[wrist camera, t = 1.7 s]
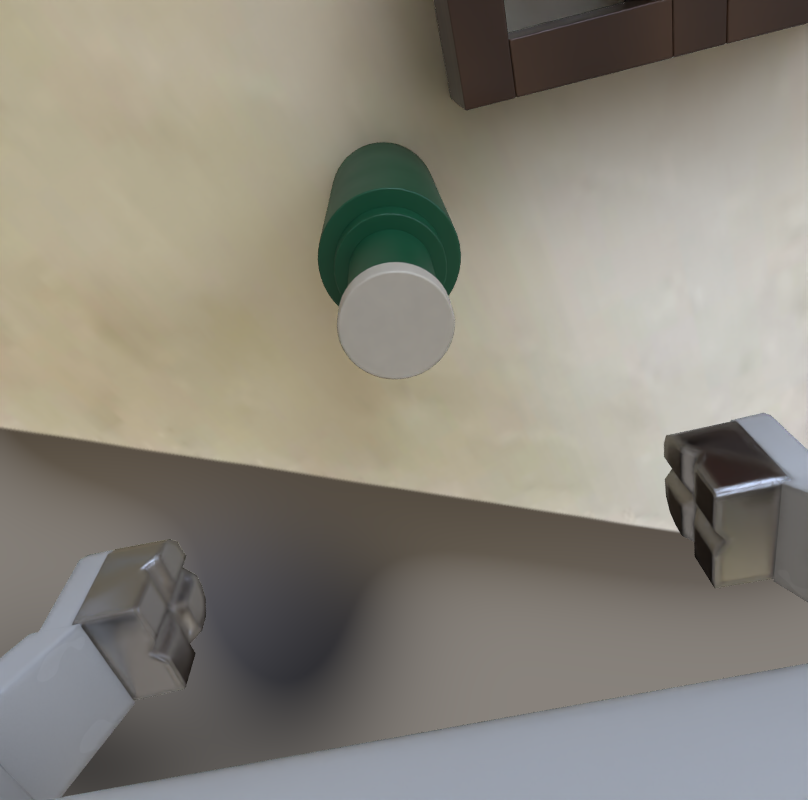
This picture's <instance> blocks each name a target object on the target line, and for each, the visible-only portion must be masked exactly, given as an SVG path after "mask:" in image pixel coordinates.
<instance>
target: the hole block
mask: <svg viewBox="0 0 808 800" xmlns="http://www.w3.org/2000/svg"><path fill="white" fill-rule="evenodd" d="M434 6H435V12H436V17H437V23H438V29H439V34H440V40H441V46H442V51H443V57H444V63H445V69H446V74H447V80H448V86H449V91H450V97H451V99H452V100H454V101H455V102H456V103H457V104H459V105H460V106H461V107H462V108H464V109H465V110H470V109H474V108H478V107H482V106H486V105H490V104H493V103H497V102H501V101H505V100H509V99H513V98H515V97H521V96H525V95H529V94H533V93H536V92H540V91H544V90H548V89H552V88H556V87H560V86H564V85H568V84H572V83H576V82H580V81H583V80H587V79H591V78H595V77H599V76H603V75H607V74H611V73H615V72H619V71H623V70H626V69H630V68H634V67H638V66H642V65H646V64H650V63H654V62H658V61H662V60H666V59H669V58H672V57H677V56H681V55H685V54H689V53H693V52H697V51H701V50H705V49H708V48H712V47H716V46H720V45H724V44H725V43H727V44H728V43H732V42H736V41H740V40H744V39H748V38H752V37H755V36H759V35H763V34H767V33H771V32H775V31H779V30H783V29H787V28H791V27H795V26H799V25H802V24H806V23H808V0H625V2H623V3H619V4H616V5H612V6H608V7H604V8H600V9H597V10H593V11H589V12H585V13H581V14H578V15H574V16H570V17H566V18H562V19H559V20H555V21H551V22H547V23H543V24H540V25H536V26H532V27H528V28H524V29H521V30H517V31H513V32H509V33H508V31H507V23H506V15H505V7H504V0H434Z"/></svg>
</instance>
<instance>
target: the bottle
mask: <svg viewBox="0 0 808 800" xmlns="http://www.w3.org/2000/svg"><path fill="white" fill-rule="evenodd" d="M460 263H461V251H460V243H459V240H458V236H457V233H456V231H455V228H454V226H453V224H452V221H451V219H450V217H449V215H448V212H447V210H446V208H445V206H444V203H443V201H442V199H441V197H440V194H439V192H438V190H437V187H436V185H435V183H434V181H433V178H432V176H431V174H430V172H429V170H428V168H427V166H426V165H425V164H424V162H423V161H422V160H421V159H420V158H419V157H418V156H417V155H416V154H415V153H413V152H412V151H411V150H409V149H407V148H405V147H403V146H400V145H397V144H393V143H385V142H383V143H373V144H369V145H366V146H363V147H361V148H359V149H357V150H356V151H354V152H353V153H352V154H350V155H349V156H348V157H347V158H346V159H345V160H344V162H343V163H342V164H341V166H340V167H339V169H338V171H337V173H336V175H335V178H334V181H333V185H332V190H331V194H330V198H329V203H328V207H327V212H326V216H325V221H324V225H323V229H322V234H321V238H320V243H319V249H318V265H319V271H320V276H321V279H322V282H323V284H324V287H325V288H326V290H327V292H328V294H329V295H330V297H331V298H332V299H333V301H334V302H335V303H336V304H337V305H338V306H339V309H338V319H337V331H338V337H339V341H340V343H341V346H342V348H343V350H344V352H345V353H346V355H347V356H348V357H349V359H350V360H351V361H352V362H353V363H354V364H355V365H357V366H358V367H359V368H361V369H362V370H364V371H365V372H367V373H369V374H372V375H374V376H377V377H381V378H386V379H404V378H409V377H413V376H416V375H419V374H421V373H423V372H425V371H427V370H429V369H430V368H431V367H433V366H434V365H435V364H436V363H437V362H438V361H439V360H440V359H441V358H442V357H443V356H444V355H445V353H446V352H447V350H448V348H449V346H450V344H451V342H452V338H453V335H454V329H455V319H454V313H453V309H452V305H451V302H450V299H449V294H450V293H451V291H452V289H453V288H454V285H455V283H456V281H457V277H458V274H459V270H460Z"/></svg>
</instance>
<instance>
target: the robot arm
mask: <svg viewBox="0 0 808 800" xmlns="http://www.w3.org/2000/svg"><path fill="white" fill-rule="evenodd" d="M664 457H665V459H666V460H667V462H668V463H669V465H670V466H671V468H672V470H671V471H670V473H669V474H668V476H667V477H666V478H665V487H666V497H667V502H668V506H669V510H670V513H671V515H672V518H673V520H674V522H675V525H676V526H677V528H678V530H679V531H680V533H681V535H682V536H683V537H686V538H688V539H690V540H691V541H694V544H695V558H696V559H697V560H698V562H699V564H700V566H701V567H702V569H703V570H704V572H705V574H706V575H707V577H708V578H709V580H710V582H711V583H712V585H713V586H714V588H719V587H725V586H732V585H737V584H744V583H750V582H756V581H762V580H768V579H774V582H776V583H777V584H779V585H780V586H782V587H784V588H785V589H787V590H789V591H790V592H792V593H794V594H795V595H797V596H798V597H800V598H802V599H803V600H805V601H807V602H808V450H807V449H806V448H805V447H804V446H803V445H802V444H801V443H800V442H799V441H798V440H797V439H796V438H794V437H793V436H792V435H791V434H790V433H789V432H788V431H787V430H786V429H785V428H784V427H783V426H782V425H781V424H780V423H779V422H777V421H776V420H775V419H774V418H773V417H772V416H771V415H769V414H766V413H760V414H756V415H752V416H747V417H743V418H739V419H735V420H731V421H730V422H726V423H722V424H717V425H712V426H708V427H703V428H698V429H694V430H689V431H684V432H680V433H675V434H670V435H666V438H665V442H664ZM185 558H186V555H185V553H184V552H183V550H182V549H181V547H180V545H179V544H178V542H177V541H174V540H171V539H168V540H163V541H157V542H152V543H147V544H141V545H136V546H131V547H125V548H120V549H115V550H111V551H105V552H100V553H95V554H90V555H87V556H85V557H84V558H82V559H80V560H79V562H78V563H77V565H76V567H75V569H74V571H73V572H72V574H71V576H70V578H69V579H68V581H67V583H66V585H65V586H64V588H63V590H62V592H61V593H60V595H59V597H58V599H57V601H56V602H55V604H54V606H53V608H52V609H51V611H50V613H49V615H48V616H47V618H46V620H45V622H44V624H43V625H42V627H41V629H40V631H39V632H37V633H32V634H29V635H28V636H26V637H25V638H24V639H23V640H22V641H20V642H19V643H18V644H17V645H16V646H14V647H13V648H12V649H11V650H9V651H8V652H7V653H6V654H5V655H3V656H2V657H1V658H0V800H808V663H807V664H801V665H796V666H790V667H784V668H779V669H774V670H768V671H763V672H757V673H751V674H746V675H740V676H735V677H729V678H723V679H718V680H712V681H707V682H701V683H696V684H691V685H684V686H679V687H673V688H668V689H662V690H656V691H651V692H646V693H640V694H634V695H629V696H623V697H617V698H612V699H606V700H601V701H595V702H589V703H584V704H579V705H573V706H567V707H562V708H556V709H550V710H545V711H539V712H533V713H528V714H523V715H517V716H512V717H505V718H500V719H494V720H489V721H484V722H478V723H473V724H467V725H461V726H455V727H450V728H445V729H439V730H433V731H428V732H422V733H417V734H411V735H405V736H400V737H394V738H389V739H383V740H378V741H372V742H366V743H361V744H356V745H350V746H345V747H339V748H333V749H328V750H323V751H316V752H311V753H306V754H300V755H294V756H289V757H283V758H278V759H272V760H266V761H261V762H255V763H250V764H244V765H239V766H233V767H227V768H222V769H216V770H211V771H205V772H200V773H194V774H189V775H183V776H177V777H172V778H166V779H161V780H155V781H149V782H144V783H139V784H133V785H127V786H122V787H116V788H110V789H105V790H99V791H94V792H89V793H83V794H78V795H72V796H66V797H62V795H63V794H64V793H65V791H66V790H67V789H68V788H69V786H70V785H71V784H72V783H73V781H74V780H75V779H76V777H77V776H78V775H79V774H80V772H81V771H82V770H83V769H84V767H85V766H86V765H87V763H88V762H89V761H90V760H91V758H92V757H93V756H94V755H95V753H96V752H97V751H98V749H99V748H100V747H101V746H102V744H103V743H104V742H105V741H106V739H107V738H108V737H109V735H110V734H111V733H112V732H113V730H114V729H115V728H116V727H117V725H118V724H119V723H120V722H121V720H122V719H123V718H124V716H125V715H126V714H127V712H128V711H129V710H130V709H131V708H132V706H133V705H134V704H135V702H134V700H138V699H142V698H147V697H152V696H156V695H161V694H165V693H170V692H174V691H179V690H183V689H185V687H186V684H187V681H188V677H189V674H190V670H191V667H192V664H193V660H194V657H195V652H194V650H193V649H192V647H191V645H190V643H191V642H192V641H193V640H194V639H195V638H196V637H197V636H198V634H199V633H200V632H201V631H202V629H203V625H204V621H205V617H206V599H205V595H204V591H203V588H202V585H201V583H200V581H199V579H198V577H197V575H195V574H193V573H192V572H190V571H188V570H187V569H185V568H183V564H184V561H185Z"/></svg>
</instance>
